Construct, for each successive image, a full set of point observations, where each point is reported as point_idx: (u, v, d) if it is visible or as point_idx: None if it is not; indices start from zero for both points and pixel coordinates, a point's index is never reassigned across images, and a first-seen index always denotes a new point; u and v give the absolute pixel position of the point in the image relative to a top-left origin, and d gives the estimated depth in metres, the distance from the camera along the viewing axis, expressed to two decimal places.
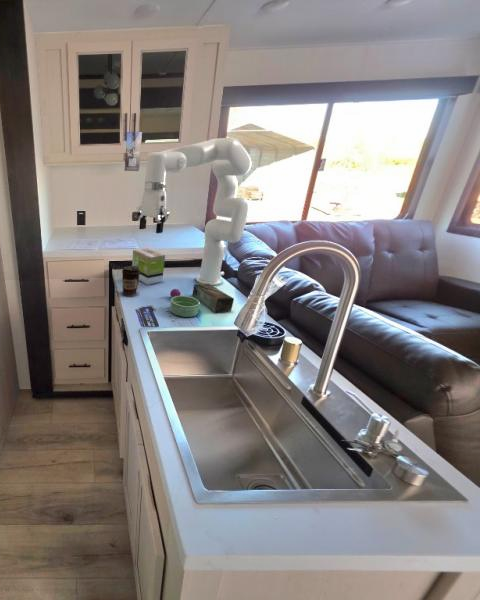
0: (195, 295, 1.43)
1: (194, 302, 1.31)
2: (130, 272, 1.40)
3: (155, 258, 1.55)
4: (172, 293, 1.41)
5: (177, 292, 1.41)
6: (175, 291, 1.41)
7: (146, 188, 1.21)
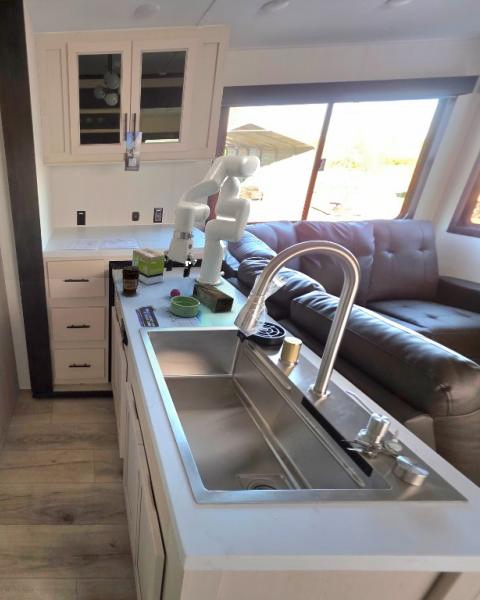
0: (195, 295, 1.43)
1: (194, 302, 1.31)
2: (130, 272, 1.40)
3: (155, 258, 1.55)
4: (172, 293, 1.41)
5: (177, 292, 1.41)
6: (175, 291, 1.41)
7: (175, 236, 1.31)
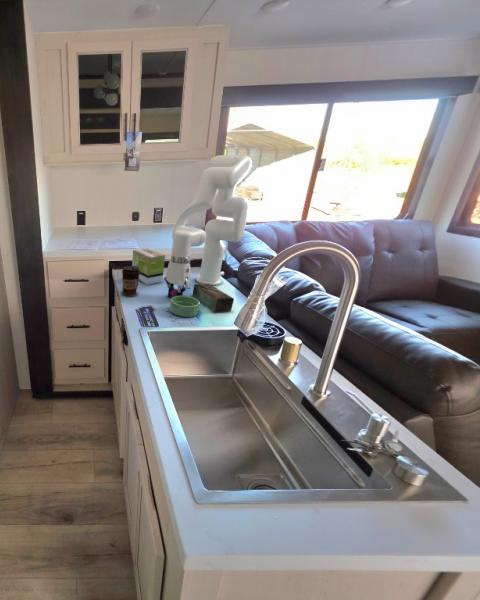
0: (195, 295, 1.43)
1: (194, 302, 1.31)
2: (130, 272, 1.40)
3: (155, 258, 1.55)
4: (172, 293, 1.41)
5: None
6: (175, 291, 1.41)
7: (172, 261, 1.35)
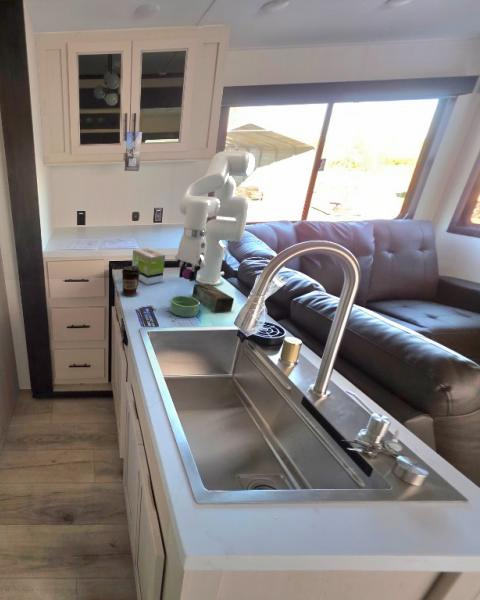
0: (195, 295, 1.43)
1: (194, 302, 1.31)
2: (130, 272, 1.40)
3: (155, 258, 1.55)
4: (184, 273, 1.23)
5: None
6: (188, 270, 1.23)
7: (186, 234, 1.17)
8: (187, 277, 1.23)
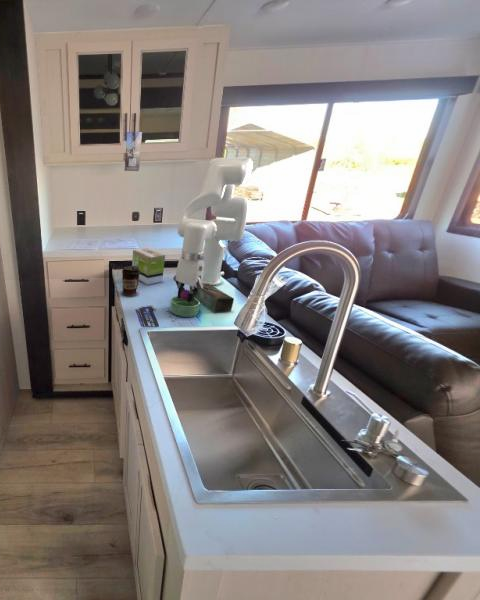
0: (195, 295, 1.43)
1: (194, 302, 1.31)
2: (130, 272, 1.40)
3: (155, 258, 1.55)
4: (182, 294, 1.26)
5: None
6: (186, 292, 1.25)
7: (183, 258, 1.20)
8: (185, 298, 1.26)
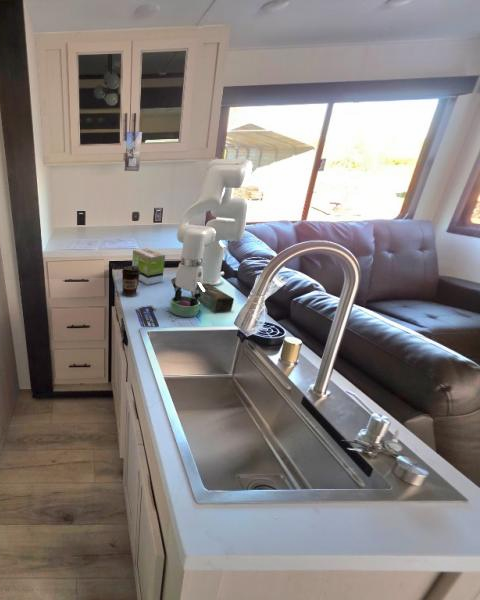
0: None
1: None
2: (130, 272, 1.40)
3: (155, 258, 1.55)
4: None
5: (187, 305, 1.27)
6: (185, 304, 1.27)
7: (183, 264, 1.21)
8: None
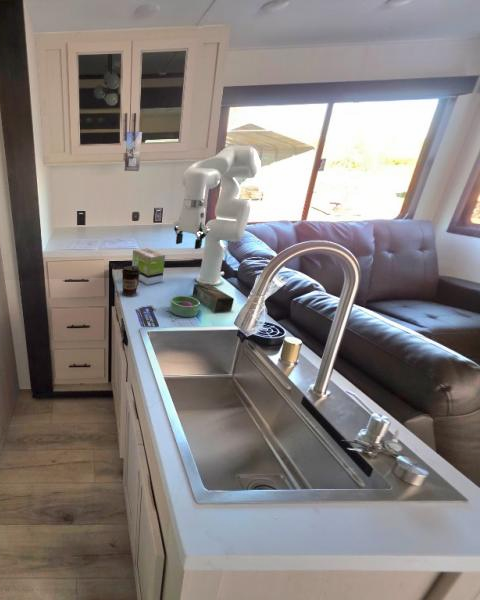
0: (195, 295, 1.43)
1: (194, 302, 1.31)
2: (130, 272, 1.40)
3: (155, 258, 1.55)
4: None
5: None
6: None
7: (185, 205, 1.23)
8: None
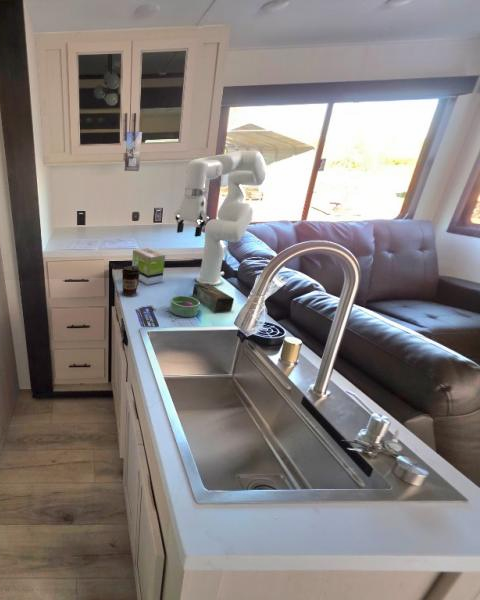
0: (195, 295, 1.43)
1: (194, 302, 1.31)
2: (130, 272, 1.40)
3: (155, 258, 1.55)
4: None
5: None
6: None
7: (186, 194, 1.29)
8: None
